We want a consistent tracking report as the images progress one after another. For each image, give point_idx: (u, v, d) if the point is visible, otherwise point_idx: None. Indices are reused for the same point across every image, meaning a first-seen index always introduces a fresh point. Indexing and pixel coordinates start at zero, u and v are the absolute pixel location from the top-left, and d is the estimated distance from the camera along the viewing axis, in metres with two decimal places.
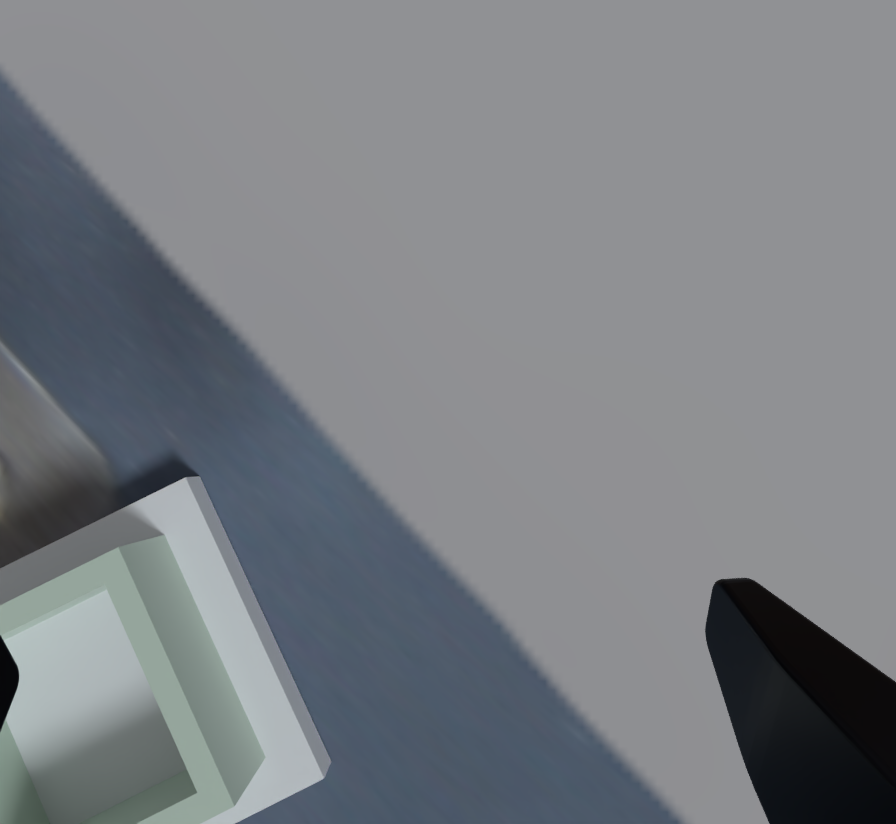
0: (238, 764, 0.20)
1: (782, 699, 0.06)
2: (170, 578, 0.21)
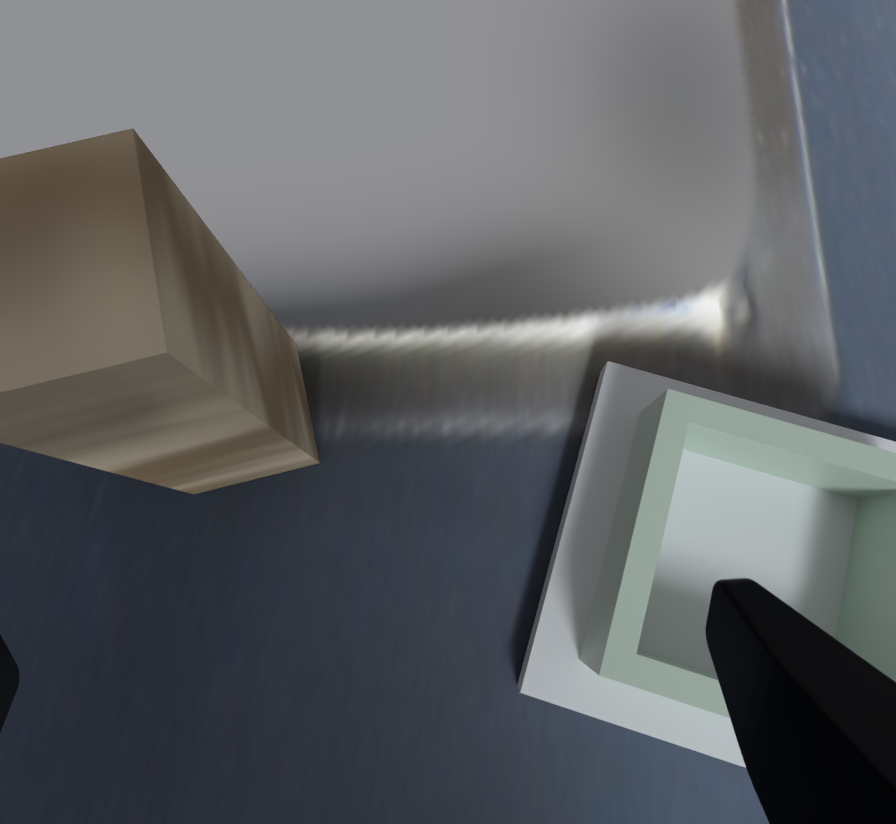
0: None
1: (782, 699, 0.06)
2: None
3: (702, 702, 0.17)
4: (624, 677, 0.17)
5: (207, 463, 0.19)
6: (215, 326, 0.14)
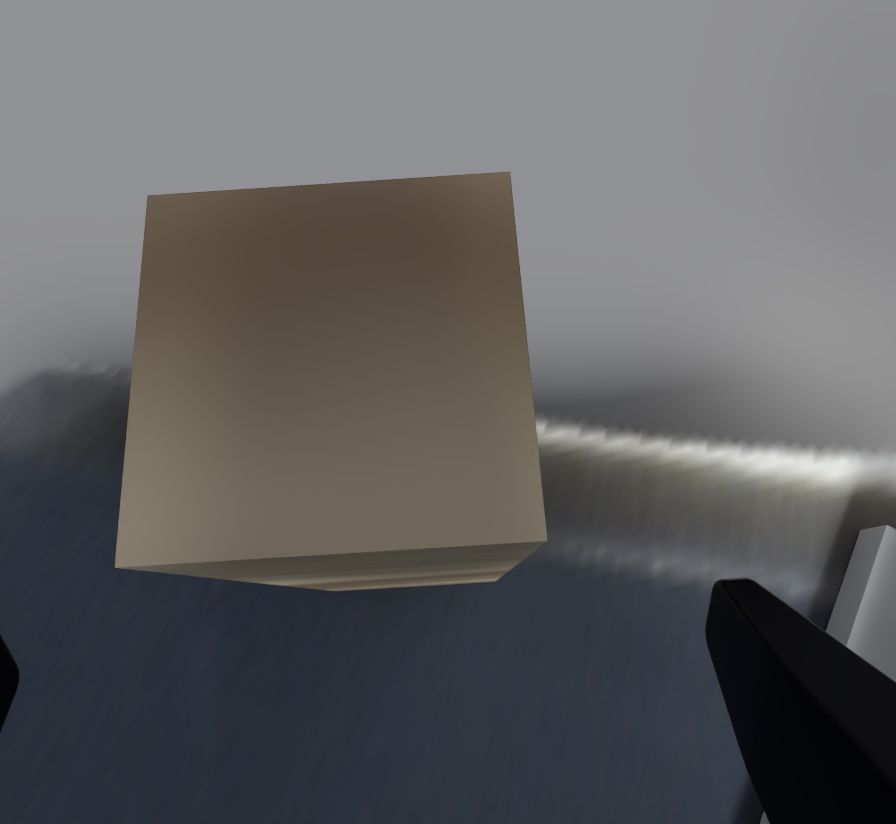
0: None
1: (782, 699, 0.06)
2: None
3: None
4: None
5: (391, 582, 0.15)
6: None
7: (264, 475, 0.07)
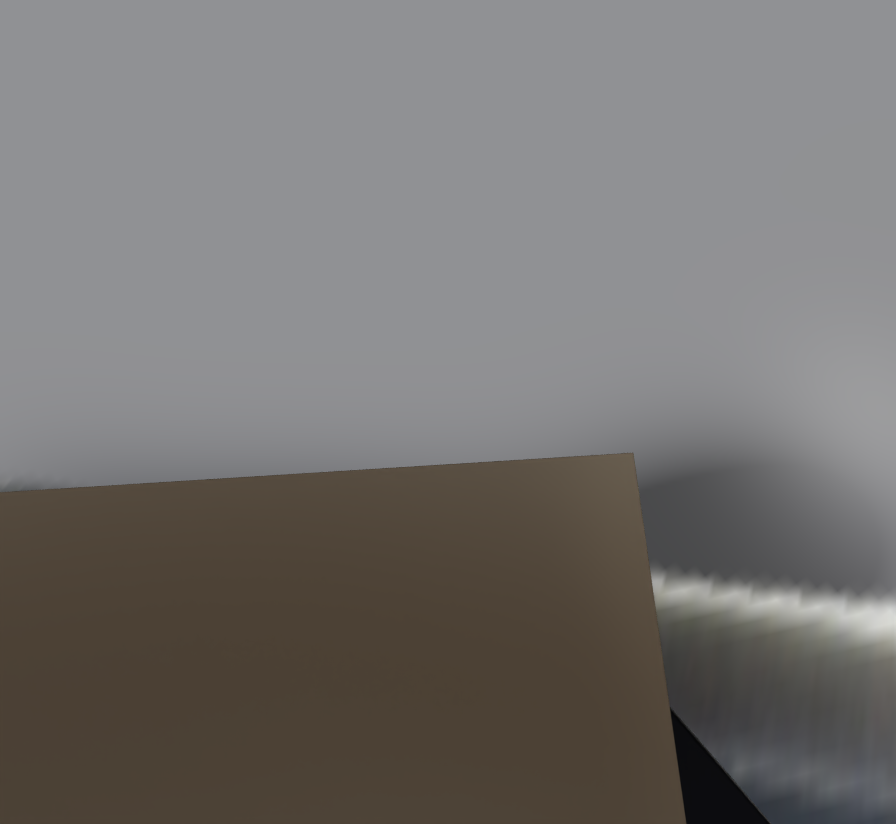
0: None
1: None
2: None
3: None
4: None
5: None
6: None
7: None
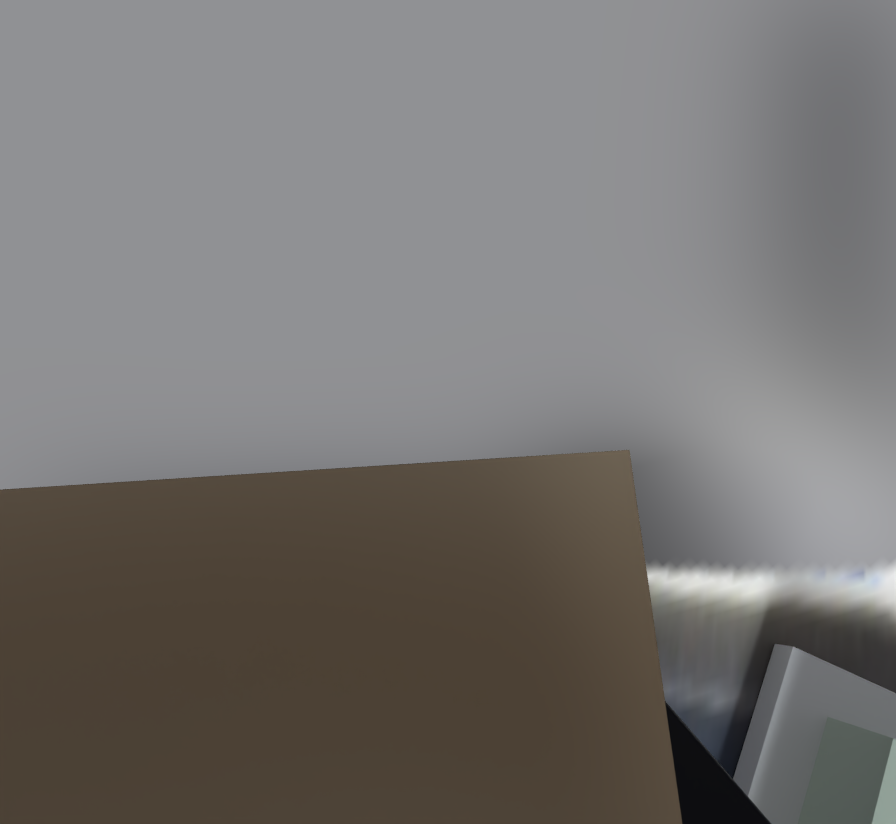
0: None
1: None
2: None
3: None
4: None
5: None
6: None
7: None
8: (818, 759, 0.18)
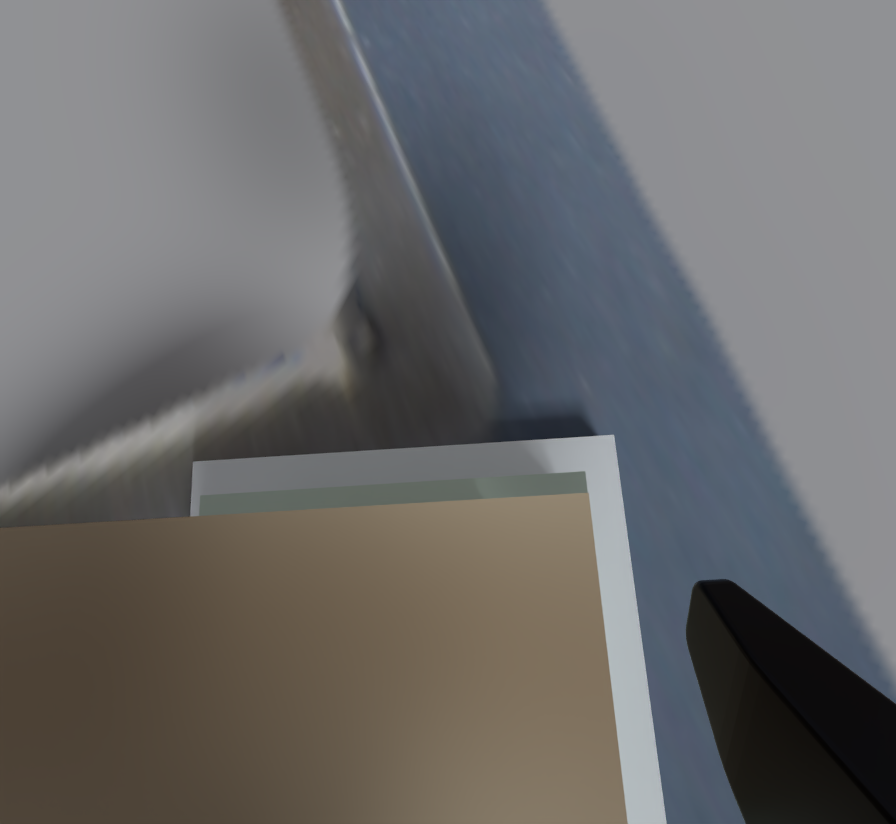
0: None
1: (757, 700, 0.06)
2: None
3: None
4: None
5: None
6: None
7: None
8: None
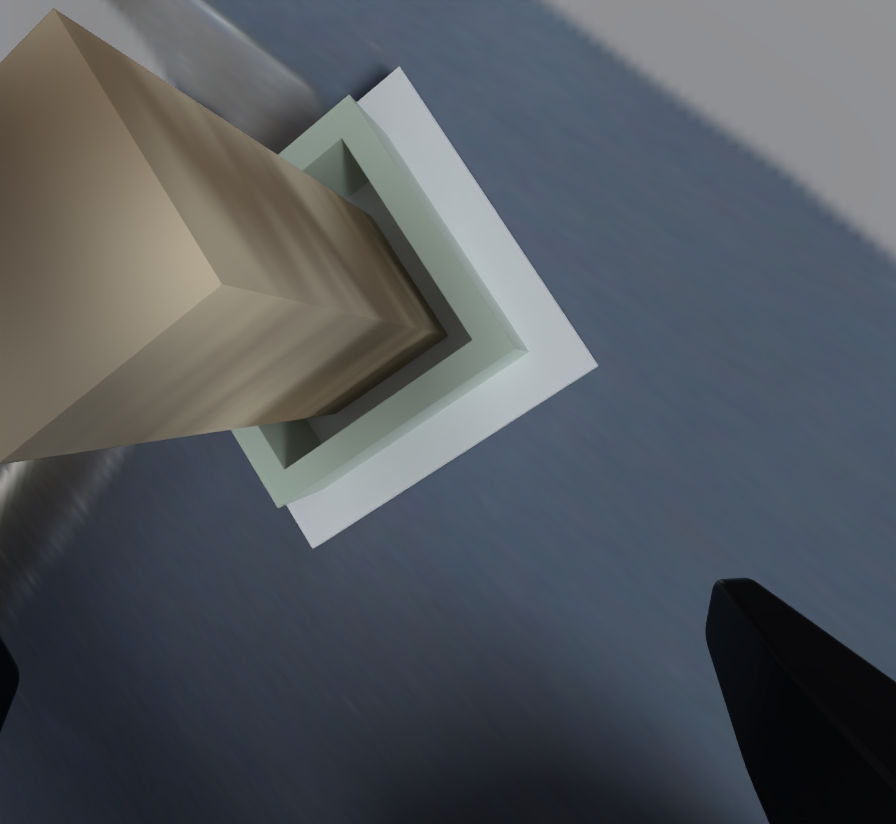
0: (507, 329, 0.18)
1: (782, 699, 0.06)
2: (402, 163, 0.19)
3: (348, 453, 0.18)
4: (293, 491, 0.18)
5: (334, 381, 0.17)
6: (270, 228, 0.11)
7: (36, 355, 0.09)
8: None
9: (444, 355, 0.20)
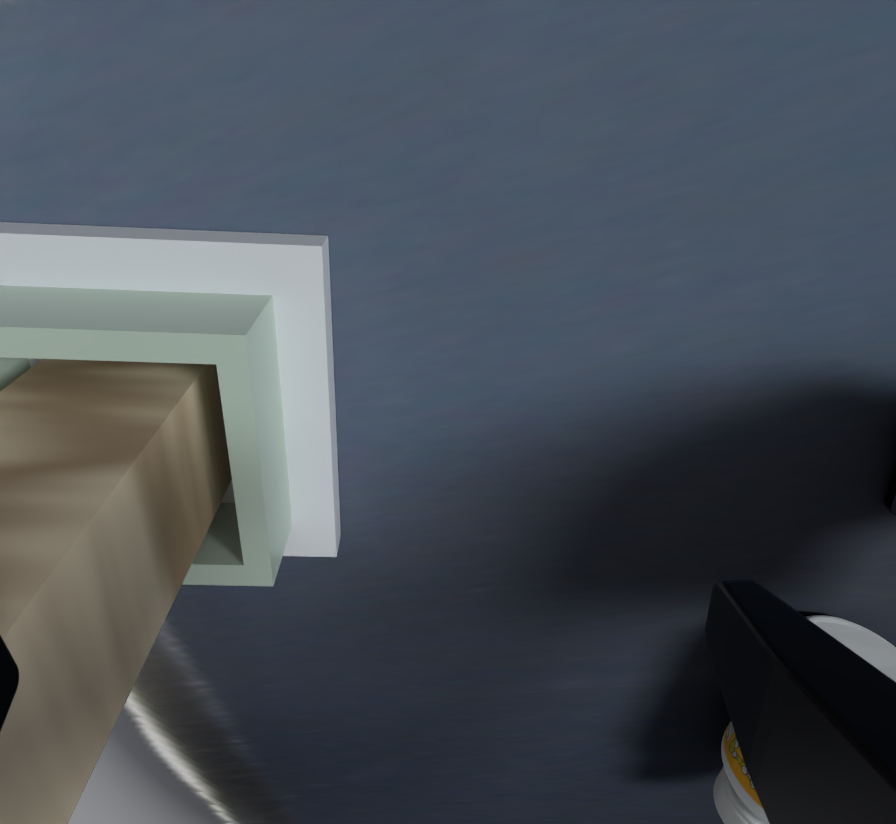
0: (230, 317, 0.17)
1: (782, 698, 0.06)
2: (12, 296, 0.17)
3: (259, 514, 0.18)
4: (266, 568, 0.19)
5: (184, 498, 0.17)
6: None
7: None
8: None
9: None
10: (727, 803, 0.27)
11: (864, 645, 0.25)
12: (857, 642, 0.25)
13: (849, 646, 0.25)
